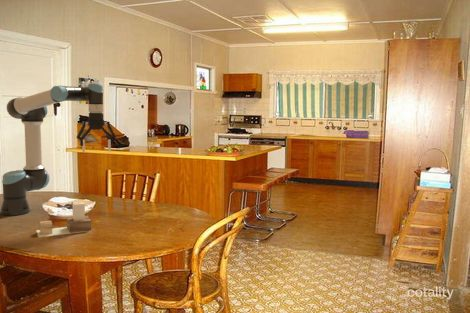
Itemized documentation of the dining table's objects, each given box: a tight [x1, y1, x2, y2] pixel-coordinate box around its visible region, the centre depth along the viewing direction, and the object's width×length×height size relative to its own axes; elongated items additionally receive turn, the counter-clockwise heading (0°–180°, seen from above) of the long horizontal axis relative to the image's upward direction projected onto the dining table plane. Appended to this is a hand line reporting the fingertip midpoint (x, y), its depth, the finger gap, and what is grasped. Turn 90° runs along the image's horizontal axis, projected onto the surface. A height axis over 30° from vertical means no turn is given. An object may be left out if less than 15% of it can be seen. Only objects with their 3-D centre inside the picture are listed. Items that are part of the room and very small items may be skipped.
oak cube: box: [39, 220, 53, 235], centre depth 206 cm, size 5×5×5 cm
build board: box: [36, 226, 89, 238], centre depth 210 cm, size 12×24×1 cm, turn 118°
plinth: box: [66, 215, 92, 234], centre depth 213 cm, size 10×10×5 cm
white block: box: [71, 201, 86, 221], centre depth 213 cm, size 5×5×8 cm
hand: (96, 151), depth 234 cm, fingers open, 13 cm apart
